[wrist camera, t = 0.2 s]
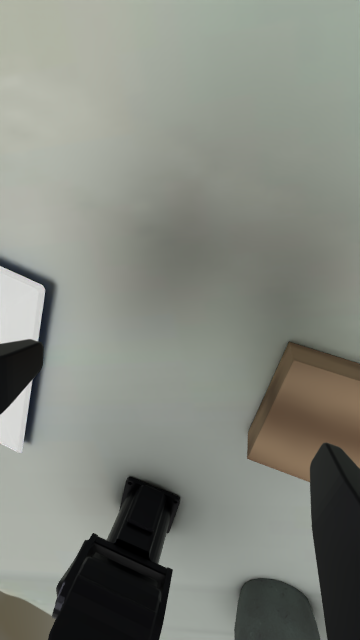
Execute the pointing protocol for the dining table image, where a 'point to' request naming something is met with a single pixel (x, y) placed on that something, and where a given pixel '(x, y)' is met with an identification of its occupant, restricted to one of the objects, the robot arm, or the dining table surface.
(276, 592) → the grey bottle
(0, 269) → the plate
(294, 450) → the base
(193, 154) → the dining table surface
